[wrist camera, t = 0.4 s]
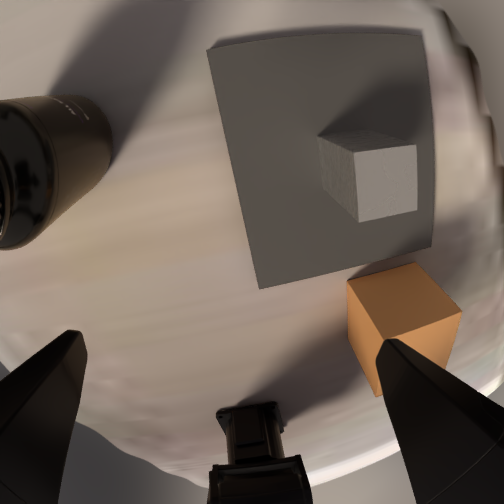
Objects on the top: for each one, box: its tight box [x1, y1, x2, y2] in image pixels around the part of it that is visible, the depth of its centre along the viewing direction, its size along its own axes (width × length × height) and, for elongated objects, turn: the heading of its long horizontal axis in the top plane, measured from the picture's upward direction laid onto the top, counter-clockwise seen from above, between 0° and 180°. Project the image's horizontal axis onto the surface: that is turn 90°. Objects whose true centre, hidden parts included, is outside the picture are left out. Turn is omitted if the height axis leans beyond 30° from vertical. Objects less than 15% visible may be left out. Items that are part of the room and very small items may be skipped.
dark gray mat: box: [206, 33, 434, 289], centre depth 19 cm, size 16×14×1 cm
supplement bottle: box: [0, 95, 113, 251], centre depth 12 cm, size 7×7×12 cm
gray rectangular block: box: [317, 129, 417, 223], centre depth 16 cm, size 3×3×6 cm
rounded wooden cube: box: [347, 262, 462, 397], centre depth 23 cm, size 6×6×7 cm
